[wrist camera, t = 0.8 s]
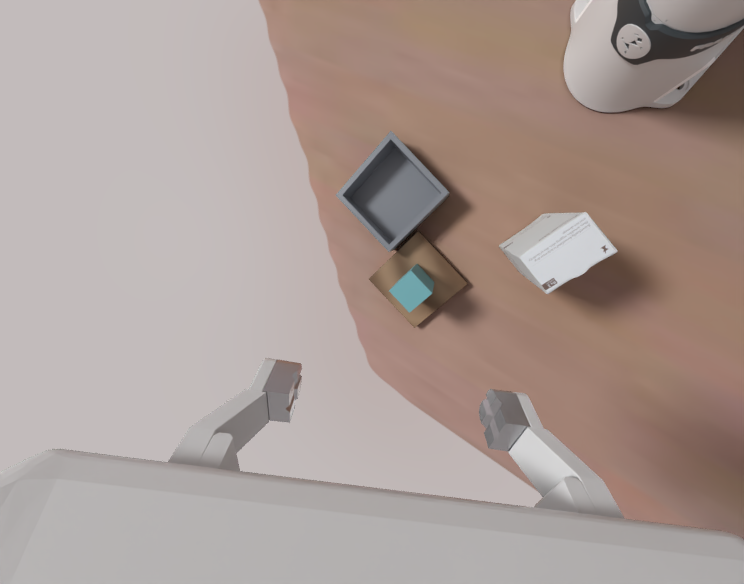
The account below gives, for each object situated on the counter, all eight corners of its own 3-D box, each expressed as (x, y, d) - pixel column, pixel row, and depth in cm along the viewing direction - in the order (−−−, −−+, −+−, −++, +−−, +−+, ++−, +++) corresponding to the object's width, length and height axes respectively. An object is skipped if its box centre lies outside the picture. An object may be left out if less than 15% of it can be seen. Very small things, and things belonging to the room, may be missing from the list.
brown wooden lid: (418, 231, 49) (416, 231, 45) (466, 282, 49) (469, 287, 45) (370, 277, 53) (363, 282, 49) (415, 325, 53) (412, 334, 48)
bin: (396, 140, 47) (390, 130, 43) (448, 196, 47) (449, 192, 42) (345, 198, 51) (335, 195, 47) (394, 249, 51) (388, 251, 46)
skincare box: (543, 212, 44) (588, 205, 30) (567, 243, 44) (624, 249, 30) (495, 247, 47) (516, 255, 33) (518, 276, 47) (549, 296, 33)
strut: (416, 263, 49) (410, 270, 41) (434, 282, 49) (432, 293, 41) (398, 280, 51) (388, 290, 42) (415, 298, 50) (409, 312, 42)
